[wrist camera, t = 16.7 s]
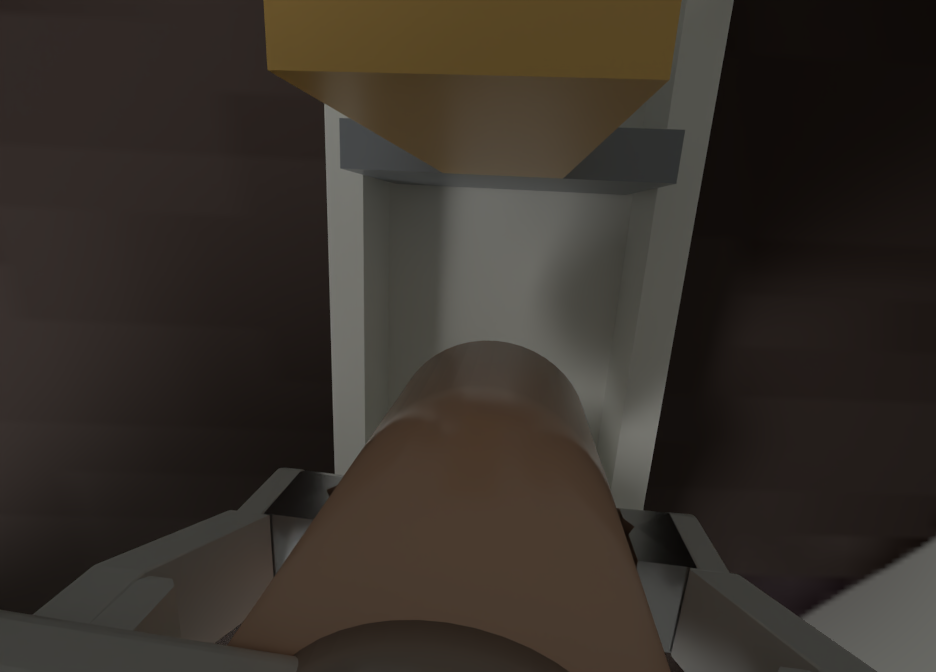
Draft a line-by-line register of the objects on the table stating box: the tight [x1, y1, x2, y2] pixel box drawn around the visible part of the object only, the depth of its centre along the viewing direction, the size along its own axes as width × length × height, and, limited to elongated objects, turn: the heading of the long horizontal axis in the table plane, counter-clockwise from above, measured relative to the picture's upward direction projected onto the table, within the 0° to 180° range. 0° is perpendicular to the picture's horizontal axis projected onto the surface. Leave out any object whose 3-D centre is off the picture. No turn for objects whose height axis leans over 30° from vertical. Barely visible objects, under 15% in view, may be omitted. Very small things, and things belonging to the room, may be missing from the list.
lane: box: [324, 0, 734, 510], centre depth 16 cm, size 25×11×6 cm, turn 177°
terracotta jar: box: [227, 341, 671, 672], centre depth 9 cm, size 6×6×9 cm
